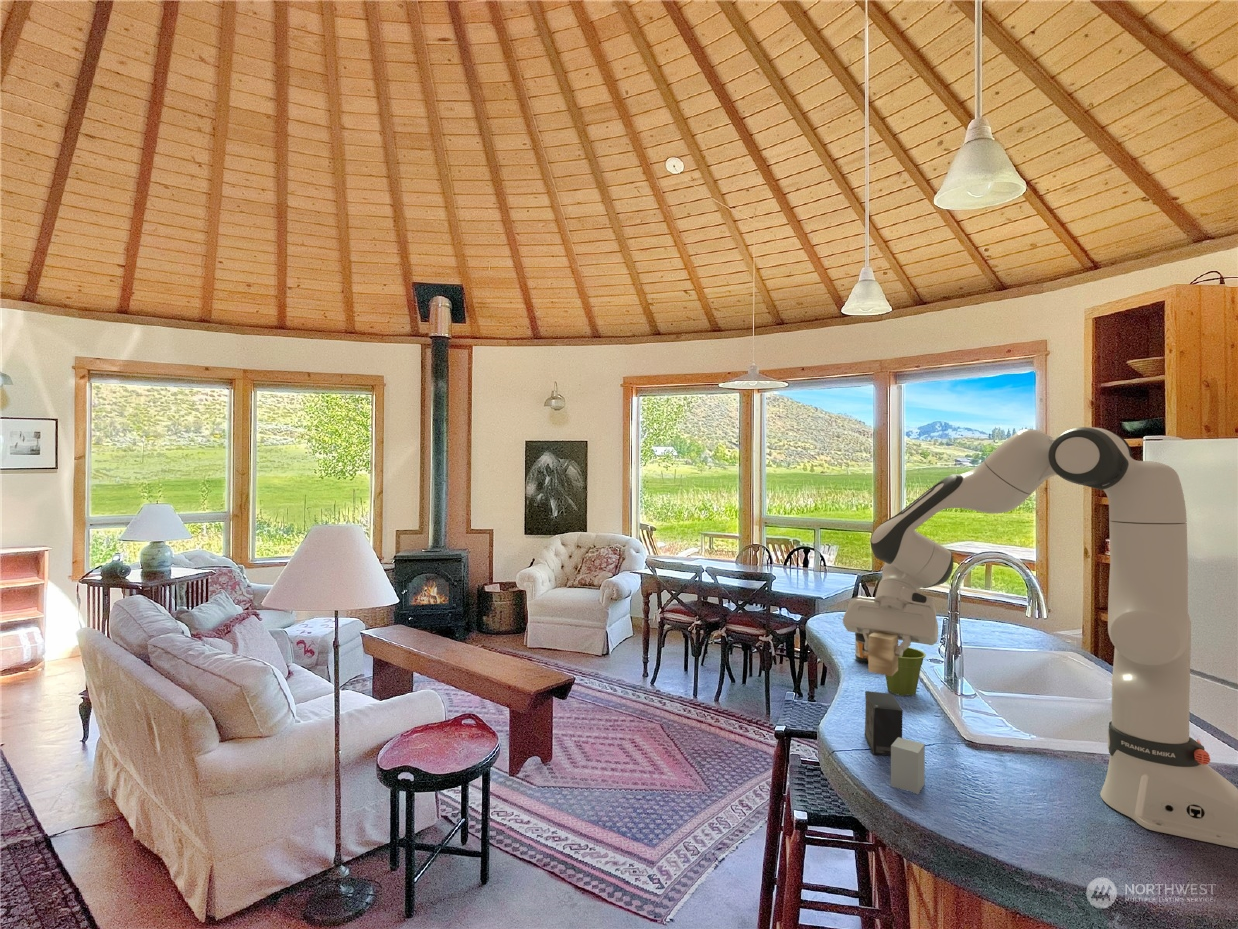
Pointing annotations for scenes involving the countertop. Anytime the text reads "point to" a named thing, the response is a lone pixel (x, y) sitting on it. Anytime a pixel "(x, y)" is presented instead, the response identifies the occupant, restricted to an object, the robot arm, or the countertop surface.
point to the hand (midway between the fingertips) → (882, 652)
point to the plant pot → (906, 673)
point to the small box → (882, 721)
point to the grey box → (908, 765)
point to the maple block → (882, 653)
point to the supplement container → (860, 648)
